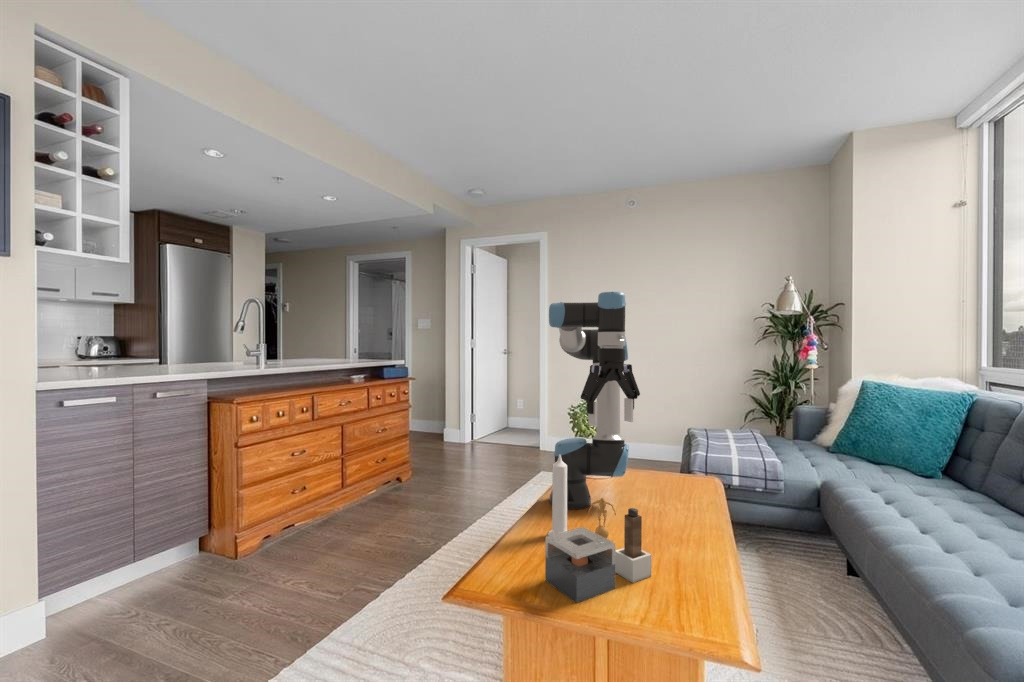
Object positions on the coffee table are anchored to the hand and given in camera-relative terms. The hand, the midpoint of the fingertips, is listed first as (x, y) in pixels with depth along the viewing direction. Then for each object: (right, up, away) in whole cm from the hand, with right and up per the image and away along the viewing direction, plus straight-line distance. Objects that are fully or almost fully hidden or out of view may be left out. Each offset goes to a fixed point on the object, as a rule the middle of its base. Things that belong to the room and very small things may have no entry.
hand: (611, 423), depth 134 cm
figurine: (0, -37, +12) cm, 39 cm away
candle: (-13, -37, +13) cm, 41 cm away
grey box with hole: (-11, -37, -16) cm, 42 cm away
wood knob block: (+3, -36, -11) cm, 38 cm away
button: (-11, -36, -16) cm, 41 cm away
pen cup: (+3, -37, -11) cm, 38 cm away
